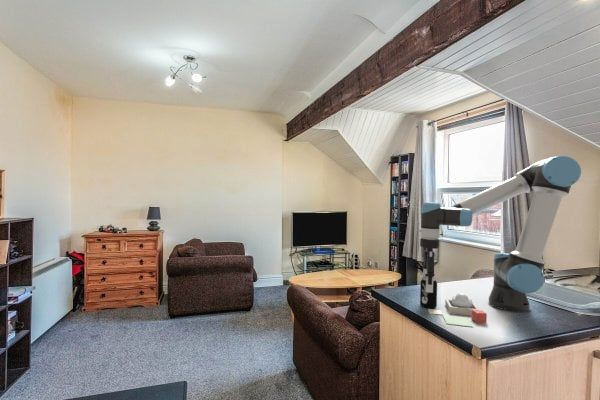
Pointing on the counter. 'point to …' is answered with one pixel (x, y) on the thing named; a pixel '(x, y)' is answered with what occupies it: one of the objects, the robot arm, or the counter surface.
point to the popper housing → (459, 308)
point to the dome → (461, 301)
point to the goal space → (457, 321)
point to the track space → (435, 312)
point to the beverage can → (428, 295)
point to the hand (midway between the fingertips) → (427, 287)
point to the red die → (479, 316)
